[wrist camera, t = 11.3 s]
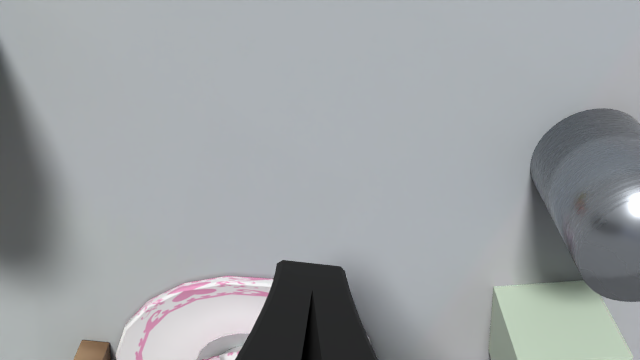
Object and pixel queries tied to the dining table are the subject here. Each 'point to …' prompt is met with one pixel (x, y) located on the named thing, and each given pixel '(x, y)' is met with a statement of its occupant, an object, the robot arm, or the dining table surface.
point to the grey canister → (595, 196)
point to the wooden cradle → (93, 351)
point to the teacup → (194, 319)
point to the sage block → (553, 324)
